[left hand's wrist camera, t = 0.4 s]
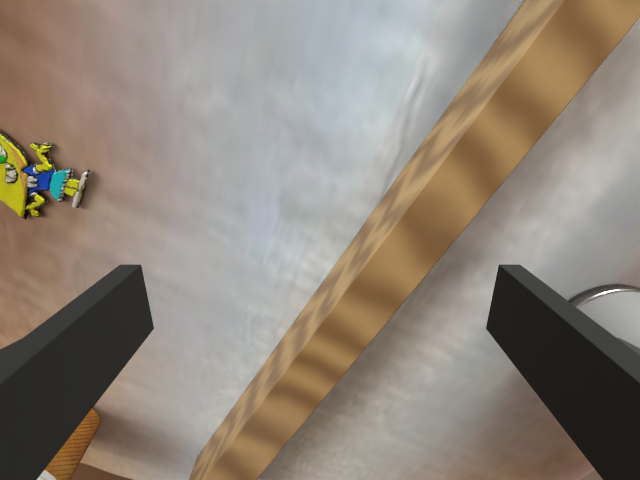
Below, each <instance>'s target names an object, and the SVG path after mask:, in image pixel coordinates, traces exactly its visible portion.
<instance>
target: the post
mask: <svg viewBox="0 0 640 480" xmlns="http://www.w3.org/2000/svg"><path fill="white" fill-rule="evenodd" d="M639 18H640V0H525V1H524V2H523V3H522V5H521V6H520V8H519V9H518V10H517V12H516V13H515V15H514V16H513V17H512V19H511V20H510V22H509V23H508V24H507V26H506V27H505V29H504V30H503V31H502V33H501V34H500V36H499V37H498V38H497V40H496V41H495V43H494V44H493V45H492V47H491V48H490V50H489V51H488V52H487V54H486V55H485V57H484V58H483V59H482V61H481V62H480V63H479V65H478V66H477V68H476V69H475V70H474V72H473V73H472V75H471V76H470V77H469V79H468V80H467V82H466V83H465V84H464V86H463V87H462V89H461V90H460V91H459V93H458V94H457V96H456V97H455V98H454V100H453V101H452V103H451V104H450V105H449V107H448V108H447V110H446V111H445V112H444V114H443V115H442V116H441V118H440V119H439V121H438V122H437V123H436V125H435V126H434V128H433V129H432V130H431V132H430V133H429V135H428V136H427V137H426V139H425V140H424V142H423V143H422V144H421V146H420V147H419V149H418V150H417V151H416V153H415V154H414V156H413V157H412V158H411V160H410V161H409V163H408V164H407V165H406V167H405V168H404V169H403V171H402V172H401V174H400V175H399V176H398V178H397V179H396V181H395V182H394V183H393V185H392V186H391V188H390V189H389V190H388V192H387V193H386V195H385V196H384V197H383V199H382V200H381V202H380V203H379V204H378V206H377V207H376V209H375V210H374V211H373V213H372V214H371V216H370V217H369V218H368V220H367V221H366V223H365V224H364V225H363V227H362V228H361V229H360V231H359V232H358V234H357V235H356V236H355V238H354V239H353V241H352V242H351V243H350V245H349V246H348V248H347V249H346V250H345V252H344V253H343V255H342V256H341V257H340V259H339V260H338V262H337V263H336V264H335V266H334V267H333V269H332V270H331V271H330V273H329V274H328V276H327V277H326V278H325V280H324V281H323V282H322V284H321V285H320V287H319V288H318V289H317V291H316V292H315V294H314V295H313V296H312V298H311V299H310V301H309V302H308V303H307V305H306V306H305V308H304V309H303V310H302V312H301V313H300V315H299V316H298V317H297V319H296V320H295V322H294V323H293V324H292V326H291V327H290V329H289V330H288V331H287V333H286V334H285V335H284V337H283V338H282V340H281V341H280V342H279V344H278V345H277V347H276V348H275V349H274V351H273V352H272V354H271V355H270V356H269V358H268V359H267V361H266V362H265V363H264V365H263V366H262V368H261V369H260V370H259V372H258V373H257V375H256V376H255V377H254V379H253V380H252V382H251V383H250V384H249V386H248V387H247V389H246V390H245V391H244V393H243V394H242V395H241V397H240V398H239V400H238V401H237V402H236V404H235V405H234V407H233V408H232V409H231V411H230V412H229V414H228V415H227V416H226V418H225V419H224V421H223V422H222V423H221V425H220V426H219V428H218V429H217V430H216V432H215V433H214V435H213V436H212V437H211V439H210V440H209V442H208V443H207V444H206V446H205V447H204V448H203V450H202V451H201V453H200V454H199V455H198V457H197V459H196V462H195V465H194V468H193V471H192V473H191V476H190V479H189V480H256V479H257V478H258V477H259V476H260V475H261V473H262V472H263V471H264V470H265V468H266V467H267V466H268V465H269V464H270V462H271V461H272V460H273V459H274V458H275V456H276V455H277V454H278V453H279V452H280V450H281V449H282V448H283V447H284V446H285V444H286V443H287V442H288V441H289V440H290V438H291V437H292V436H293V435H294V434H295V432H296V431H297V430H298V429H299V427H300V426H301V425H302V424H303V423H304V421H305V420H306V419H307V418H308V417H309V415H310V414H311V413H312V412H313V411H314V409H315V408H316V407H317V406H318V405H319V403H320V402H321V401H322V400H323V399H324V397H325V396H326V395H327V394H328V393H329V391H330V390H331V389H332V388H333V387H334V385H335V384H336V383H337V382H338V380H339V379H340V378H341V377H342V376H343V374H344V373H345V372H346V371H347V370H348V368H349V367H350V366H351V365H352V364H353V362H354V361H355V360H356V359H357V358H358V356H359V355H360V354H361V353H362V352H363V350H364V349H365V348H366V347H367V346H368V344H369V343H370V342H371V341H372V339H373V338H374V337H375V336H376V335H377V333H378V332H379V331H380V330H381V329H382V327H383V326H384V325H385V324H386V323H387V321H388V320H389V319H390V318H391V317H392V315H393V314H394V313H395V312H396V311H397V309H398V308H399V307H400V306H401V305H402V303H403V302H404V301H405V300H406V299H407V297H408V296H409V295H410V294H411V292H412V291H413V290H414V289H415V288H416V286H417V285H418V284H419V283H420V282H421V280H422V279H423V278H424V277H425V276H426V274H427V273H428V272H429V271H430V270H431V268H432V267H433V266H434V265H435V264H436V262H437V261H438V260H439V259H440V258H441V256H442V255H443V254H444V253H445V251H446V250H447V249H448V248H449V247H450V245H451V244H452V243H453V242H454V241H455V239H456V238H457V237H458V236H459V235H460V233H461V232H462V231H463V230H464V229H465V227H466V226H467V225H468V224H469V223H470V221H471V220H472V219H473V218H474V217H475V215H476V214H477V213H478V212H479V211H480V209H481V208H482V207H483V206H484V204H485V203H486V202H487V201H488V200H489V198H490V197H491V196H492V195H493V194H494V192H495V191H496V190H497V189H498V188H499V186H500V185H501V184H502V183H503V182H504V180H505V179H506V178H507V177H508V176H509V174H510V173H511V172H512V171H513V170H514V168H515V167H516V166H517V165H518V163H519V162H520V161H521V160H522V159H523V157H524V156H525V155H526V154H527V153H528V151H529V150H530V149H531V148H532V147H533V145H534V144H535V143H536V142H537V141H538V139H539V138H540V137H541V136H542V135H543V133H544V132H545V131H546V130H547V129H548V127H549V126H550V125H551V124H552V122H553V121H554V120H555V119H556V118H557V116H558V115H559V114H560V113H561V112H562V110H563V109H564V108H565V107H566V106H567V104H568V103H569V102H570V101H571V100H572V98H573V97H574V96H575V95H576V94H577V92H578V91H579V90H580V89H581V88H582V86H583V85H584V84H585V83H586V82H587V80H588V79H589V78H590V77H591V75H592V74H593V73H594V72H595V71H596V69H597V68H598V67H599V66H600V65H601V63H602V62H603V61H604V60H605V59H606V57H607V56H608V55H609V54H610V53H611V51H612V50H613V49H614V48H615V47H616V45H617V44H618V43H619V42H620V41H621V39H622V38H623V37H624V36H625V34H626V33H627V32H628V31H629V30H630V28H631V27H632V26H633V25H634V24H635V22H636V21H637V20H638V19H639Z"/></svg>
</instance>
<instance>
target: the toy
mask: <svg viewBox="0 0 640 480" xmlns="http://www.w3.org/2000/svg"><path fill="white" fill-rule="evenodd" d="M4 140H5V142H4ZM32 146H33V147H32ZM29 147H31V148H32V149H34V150H35V151H36V153H37V156H38V157H39V158H40V160H41V161H42V163H39V164H34V165H31V163H30V160H29V159H28V157H27V156H26V154H25V153H24V152H23V150H22V149H21V148H20V147H19V146H18V145H17V144H16V143H15V142H14V141H12V140H11V139H10V138H9V137H8V136H7V135H5V134H4V133H3V132H1V131H0V200H2V201H3V202H4V203H5V204H7V205H8V206H9V207H10V208H11V209H13V210H14V211H15V212H16V213H17V214H18V215H19V216H20V217H22V218H25V219H27V214H28V210H29V211H30V212H31V214H32V215H33V216H36V217H41V211H40V210H39V209H38V208H40V207H42V206H44V205H45V204H46V203H47V201H48V200H47V199H46V198H45V197H44V196H43V195H42V194H40V193H39V190H46V191H50V192H51V194H52V195H53V197H54V198H55V199H56V200H58V201H60V202H62V201H64V200H65V198H64V197H66V194H68V195H71V196H74V198H73V204H72V206H73V207H74V208H79V207H80V204H81V201H82V198H83V195H84V192H85V187H86V185H83V184H84V181H85V179H87V178H88V177H89V174H90V173H91V172H90V170H87V171H86V172H85V173H84V174H83V175H82V177H81V179H78V178H72V177H71V176H72V172H73V170H72V169H71V168H68V169H65V170H64V169H63V170H58V171H55V170H56V169H55V168H54V164H53V163H51V162H50V159H49V157H48V156H47V155H46V154H48V153H49V152H51V151H52V149H53V147H54V146H53V145H51V143H44V144H41V145H39V144H37V143H32V144H31V145H30V146H29ZM8 149H9V150H8ZM43 150H44V151H43ZM11 153H12V154H11ZM3 159H4V160H3ZM17 162H18V163H17ZM1 165H2V166H1ZM21 165H22V166H21ZM46 165H47V166H46ZM39 166H40V167H39ZM49 167H50V168H49ZM30 168H31V169H30ZM43 169H44V170H43ZM19 173H20V174H19ZM31 173H32V174H31ZM43 173H44V174H43ZM46 173H47V174H46ZM57 173H58V174H57ZM61 173H62V174H61ZM63 173H65V174H63ZM30 178H31V179H30ZM19 185H20V186H19ZM73 187H74V188H73ZM75 187H76V188H75ZM43 188H44V189H43ZM66 188H67V189H66ZM30 196H33V197H34V199H35V200H36V201H34V202H32V203H29V197H30ZM39 198H40V199H39ZM41 202H42V203H41ZM27 206H28V207H27ZM35 206H36V207H35ZM31 208H32V209H31Z"/></svg>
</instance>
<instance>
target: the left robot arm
mask: <svg viewBox="0 0 640 480" xmlns="http://www.w3.org/2000/svg"><path fill="white" fill-rule="evenodd" d="M153 329H154V327H153V322H152V317H151V312H150V307H149V302H148V297H147V292H146V287H145V282H144V277H143V272H142V267H141V265H119V266H118V267H117V268H115V269H114V270H113V271H111V272H110V273H109V274H107V275H106V276H105V277H103V278H102V279H101V280H99V281H98V282H97V283H95V284H94V285H93V286H91V287H90V288H89V289H87V290H86V291H85V292H83V293H82V294H81V295H79V296H78V297H77V298H75V299H74V300H73V301H72V302H70V303H69V304H68V305H66V306H65V307H64V308H62V309H61V310H60V311H58V312H57V313H56V314H54V315H53V316H52V317H50V318H49V319H48V320H46V321H45V322H44V323H42V324H41V325H40V326H38V327H37V328H36V329H34V330H33V331H32V332H30V333H29V334H28V335H26V336H25V337H24V338H23V339H20V340H18V341H16V342H14V343H12V344H11V345H9V346H7V347H5V348H3V349H1V350H0V480H37V479H38V477H39V476H40V475H41V474H42V472H43V471H44V470H45V468H46V467H47V466H48V465H49V463H50V462H51V461H52V459H53V458H54V457H55V455H56V454H57V453H58V452H59V450H60V449H61V448H62V446H63V445H64V444H65V443H66V441H67V440H68V439H69V437H70V436H71V435H72V434H73V432H74V431H75V430H76V428H77V427H78V426H79V424H80V423H81V422H82V421H83V419H84V418H85V417H86V415H87V414H88V413H89V412H90V410H91V409H92V408H93V406H94V405H95V404H96V403H97V401H98V400H99V399H100V397H101V396H102V395H103V393H104V392H105V391H106V390H107V388H108V387H109V386H110V384H111V383H112V382H113V381H114V379H115V378H116V377H117V375H118V374H119V373H120V372H121V370H122V369H123V368H124V366H125V365H126V364H127V362H128V361H129V360H130V359H131V357H132V356H133V355H134V353H135V352H136V351H137V350H138V348H139V347H140V346H141V344H142V343H143V342H144V341H145V339H146V338H147V337H148V335H149V334H150V333H151V331H152V330H153ZM486 329H487V330H488V331H489V333H490V334H491V335H492V337H493V338H494V339H495V341H496V342H497V343H498V344H499V346H500V347H501V348H502V350H503V351H504V352H505V353H506V355H507V356H508V357H509V359H510V360H511V361H512V362H513V364H514V365H515V366H516V368H517V369H518V370H519V372H520V373H521V374H522V375H523V377H524V378H525V379H526V381H527V382H528V383H529V384H530V386H531V387H532V388H533V390H534V391H535V392H536V393H537V395H538V396H539V397H540V399H541V400H542V401H543V403H544V404H545V405H546V406H547V408H548V409H549V410H550V412H551V413H552V414H553V415H554V417H555V418H556V419H557V421H558V422H559V423H560V424H561V426H562V427H563V428H564V430H565V431H566V432H567V434H568V435H569V436H570V437H571V439H572V440H573V441H574V443H575V444H576V445H577V446H578V448H579V449H580V450H581V452H582V453H583V454H584V455H585V457H586V458H587V459H588V461H589V462H590V463H591V465H592V466H593V467H594V468H595V470H596V471H597V472H598V474H599V475H600V476H601V477H602V479H603V480H640V348H638V347H636V346H634V345H632V344H630V343H628V342H626V341H625V340H623V339H621V338H616V337H615V336H613V335H612V334H611V333H610V332H608V331H607V330H606V329H604V328H603V327H602V326H600V325H599V324H598V323H596V322H595V321H594V320H592V319H591V318H590V317H588V316H587V315H586V314H584V313H583V312H582V311H580V310H579V309H578V308H576V307H575V306H574V305H572V304H571V303H570V302H568V301H567V300H566V299H565V298H563V297H562V296H561V295H559V294H558V293H557V292H555V291H554V290H553V289H551V288H550V287H549V286H547V285H546V284H545V283H543V282H542V281H541V280H539V279H538V278H537V277H535V276H534V275H533V274H531V273H530V272H529V271H527V270H526V269H525V268H523V267H522V266H521V265H499V267H498V272H497V277H496V282H495V287H494V292H493V297H492V302H491V307H490V312H489V317H488V322H487V327H486Z"/></svg>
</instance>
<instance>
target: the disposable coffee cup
mask: <svg viewBox="0 0 640 480" xmlns="http://www.w3.org/2000/svg"><path fill="white" fill-rule="evenodd" d="M99 426H100V418H99V415H98V414H97V412H96V411H95V410H94V409H91V410H90V412H89V413H88V414H87V415H86V417H85V418H84V419H83V421H82V422H81V423H80V424H79V426H78V427H77V428H76V430H75V431H74V432H73V434H72V435H71V436H70V437H69V439H68V440H67V441H66V443H65V444H64V445H63V446H62V448H61V449H60V450H59V452H58V453H57V454H56V455H55V457H54V458H53V459H52V461H51V462H50V463H49V465H48V466H47V467H46V468H45V470H44V471H43V472H42V474H41V475H40V476H39V477H38V479H37V480H71V477H72V476H73V474H74V472H75V470H76V468H77V467H78V465H79V463H80V461H81V459H82V457H83V455H84V453H85V452H86V450H87V448H88V446H89V444H90V442H91V441H92V439H93V437H94V435H95V433H96V431H97V429H98V428H99Z"/></svg>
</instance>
